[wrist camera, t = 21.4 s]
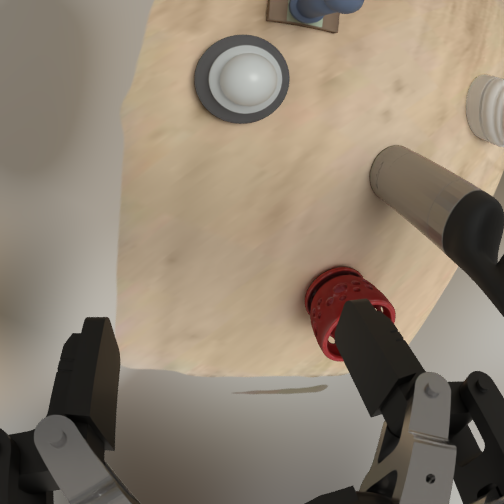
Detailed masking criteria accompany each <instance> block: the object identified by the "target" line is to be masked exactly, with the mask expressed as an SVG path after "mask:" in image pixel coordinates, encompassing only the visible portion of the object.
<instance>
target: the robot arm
mask: <svg viewBox="0 0 504 504" xmlns="http://www.w3.org/2000/svg"><path fill="white" fill-rule="evenodd" d="M370 183H371V186H372V189H373V191H374V193H375V194H376V195H377V196H378V197H380V198H381V199H382V200H383V201H385V202H386V203H387V204H388V205H390V206H391V207H392V208H393V209H394V210H396V211H397V212H398V213H399V214H400V215H402V216H403V217H404V218H405V219H406V220H408V221H409V222H410V223H411V224H412V225H413V226H415V227H416V228H417V229H418V230H419V231H420V232H422V233H423V234H424V235H425V236H426V237H427V238H428V239H429V240H431V241H432V242H433V243H434V244H435V245H436V246H437V247H438V248H440V249H441V250H442V251H443V252H444V253H445V254H446V255H447V256H448V257H449V258H450V259H451V260H453V261H454V262H455V263H456V264H457V265H458V266H459V267H460V268H462V270H464V271H465V272H466V273H467V274H468V275H469V276H470V277H471V278H472V280H473V281H475V283H476V284H477V285H478V286H479V287H480V288H481V290H483V292H484V293H485V294H486V295H487V297H488V298H489V299H490V300H491V301H492V303H493V304H494V305H495V307H496V308H497V309H498V310H499V312H500V313H501V314H502V315H503V317H504V255H503V256H502V257H501V259H500V261H499V262H498V260H497V259H498V250H499V245H500V241H501V238H502V233H503V229H504V212H503V209H502V206H501V204H500V203H499V202H498V201H497V200H496V199H495V198H494V197H492V196H491V195H489V194H488V193H486V192H484V191H483V190H481V189H480V188H478V187H476V186H475V185H473V184H472V183H470V182H468V181H466V180H465V179H463V178H461V177H460V176H458V175H456V174H454V173H453V172H451V171H449V170H447V169H446V168H444V167H442V166H440V165H438V164H436V163H435V162H433V161H431V160H429V159H427V158H425V157H423V156H421V155H420V154H418V153H416V152H414V151H412V150H409V149H407V148H405V147H403V146H399V145H397V146H391V147H388V148H386V149H385V150H383V151H382V152H381V153H380V154H379V155H378V156H377V158H376V159H375V161H374V163H373V165H372V168H371V173H370ZM497 262H498V263H497ZM335 343H336V346H337V348H338V350H339V352H340V354H341V357H342V359H343V361H344V363H345V365H346V367H347V369H348V371H349V373H350V375H351V377H352V379H353V381H354V383H355V385H356V387H357V389H358V391H359V393H360V396H361V397H362V400H363V402H364V404H365V406H366V408H367V410H368V412H369V414H370V416H371V417H374V416H377V415H380V414H382V415H383V417H384V419H385V421H384V423H383V427H382V431H381V435H380V438H379V442H378V446H377V449H376V453H375V456H374V460H373V463H372V466H371V468H370V470H369V472H368V473H367V475H366V476H365V478H364V480H363V482H362V484H361V486H360V490H359V491H355V489H354V487H353V486H351V487H347V488H345V489H341V490H338V491H335V492H331V493H328V494H324V495H321V496H318V497H316V498H315V499H313V500H311V501H309V502H307V503H305V504H449V499H450V495H451V489H452V483H453V479H454V481H455V484H456V487H457V489H458V491H459V494H460V496H461V499H462V502H463V504H504V398H503V396H502V395H501V393H500V391H499V390H498V388H497V386H496V385H495V383H494V382H493V380H492V379H491V378H490V377H489V376H488V375H487V374H485V373H483V372H480V371H475V372H472V373H471V374H470V375H469V376H468V377H467V378H466V380H465V381H464V382H447V381H446V380H445V379H444V378H443V377H442V376H441V375H439V374H437V373H433V372H426V371H425V370H424V369H423V367H422V366H421V364H420V362H419V361H418V359H417V358H416V356H415V355H414V353H413V352H412V350H411V349H410V347H409V346H408V344H407V343H406V341H405V340H403V337H402V335H401V334H400V332H398V329H397V328H396V326H395V325H394V324H393V322H392V321H391V319H390V318H388V317H387V316H386V315H384V314H383V313H382V312H381V311H376V310H375V308H374V307H373V305H372V304H371V302H370V301H369V300H368V299H357V300H349V301H346V302H345V304H344V306H343V309H342V312H341V315H340V318H339V321H338V324H337V327H336V330H335ZM119 372H120V353H119V348H118V345H117V342H116V339H115V335H114V332H113V329H112V326H111V323H110V320H109V318H108V317H87V318H86V319H85V321H84V324H83V328H82V332H81V333H73V334H72V335H71V336H70V337H69V339H68V340H67V341H66V343H65V344H64V346H63V350H62V353H61V357H60V361H59V365H58V372H57V373H56V377H55V381H54V386H53V391H52V395H51V400H50V405H49V410H48V414H47V416H46V418H44V419H42V420H41V421H40V422H39V423H38V425H37V426H36V428H35V429H34V430H31V431H28V432H22V433H17V434H11V435H8V434H6V433H5V432H4V431H3V430H2V429H0V504H54V503H53V491H54V490H60V489H61V491H62V492H63V494H64V496H65V497H66V499H67V500H68V502H69V503H70V504H141V503H140V502H139V501H138V500H137V499H136V498H135V497H134V495H132V493H131V492H130V491H129V490H128V488H127V487H126V486H125V485H124V484H123V483H122V481H121V480H120V479H119V478H118V476H117V475H116V474H115V473H114V471H113V470H112V469H111V468H110V466H109V465H108V464H107V462H106V461H105V460H104V452H105V450H111V451H114V450H115V427H116V408H117V394H118V382H119ZM472 420H473V421H474V422H475V424H476V426H477V428H478V430H479V432H480V434H481V436H482V438H483V440H484V442H485V449H484V451H483V452H482V451H481V450H480V448H479V446H478V445H477V442H476V440H475V438H474V437H473V434H472V432H471V430H470V428H469V426H468V423H469V422H471V421H472Z"/></svg>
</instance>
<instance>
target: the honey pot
mask: <svg viewBox="0 0 504 504" xmlns="http://www.w3.org/2000/svg"><path fill="white" fill-rule="evenodd" d="M466 115H467V119H468V124H469V126H470V128H471V130H472V131H473V133H474V134H475V135H476V136H477V137H479V138H481V139H483V140H485V141H488V142H490V143H493V144H494V145H497V146H499V147H504V79H502V78H499V77H495V76H491V75H487V74H484V75H480V76H478V77H476V78H475V79H474V81H473V82H472V83H471V85H470V88H469V90H468V94H467V100H466Z"/></svg>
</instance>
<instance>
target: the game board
mask: <svg viewBox="0 0 504 504" xmlns="http://www.w3.org/2000/svg"><path fill="white" fill-rule="evenodd" d="M289 2H290V0H268V9H267V19H266V21H272V22H279V23H286V24H292V25H298V26H303V27H309V28H314V29H318V30H323V31H327V32H332V33H338V25H339V14H340V13H338V12H337V13H332V14H328V15H325V16H324V17H323V18H322V19H321V20H320V21H318V22H315V23H310V24H306V23H302V22H299V21H297V20H296V19H295V18H294V17H293V16H292V15H291V13H290V11H289Z"/></svg>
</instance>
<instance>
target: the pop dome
mask: <svg viewBox="0 0 504 504" xmlns="http://www.w3.org/2000/svg"><path fill="white" fill-rule="evenodd" d="M208 82H209V87H210V91H211V93H212V95H213V96H214V98H215V99H216V100H217V101H218V102H219V103H220V104H221V105H222V106H223V107H225V108H226V109H228V110H230V111H233V112H236V113H243V114H249V113H255V112H258V111H261V110H263V109H265V108H266V107H268V106H269V105H270V104H271V103H272V102H273V101H274V100H275V99H276V97H277V96H278V94H279V92H280V89H281V85H282V73H281V69H280V66H279V64H278V62H277V61H276V59H275V58H274V57H273V56H272V55H271V54H270V53H268V52H267V51H265V50H264V49H262V48H259V47H256V46H251V45H242V46H236V47H233V48H230V49H229V50H227V51H225V52H223V53H222V54H221V55H219V56H218V57H217V58H216V60H215V61H214V62H213V64H212V66H211V68H210V72H209V77H208Z"/></svg>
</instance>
